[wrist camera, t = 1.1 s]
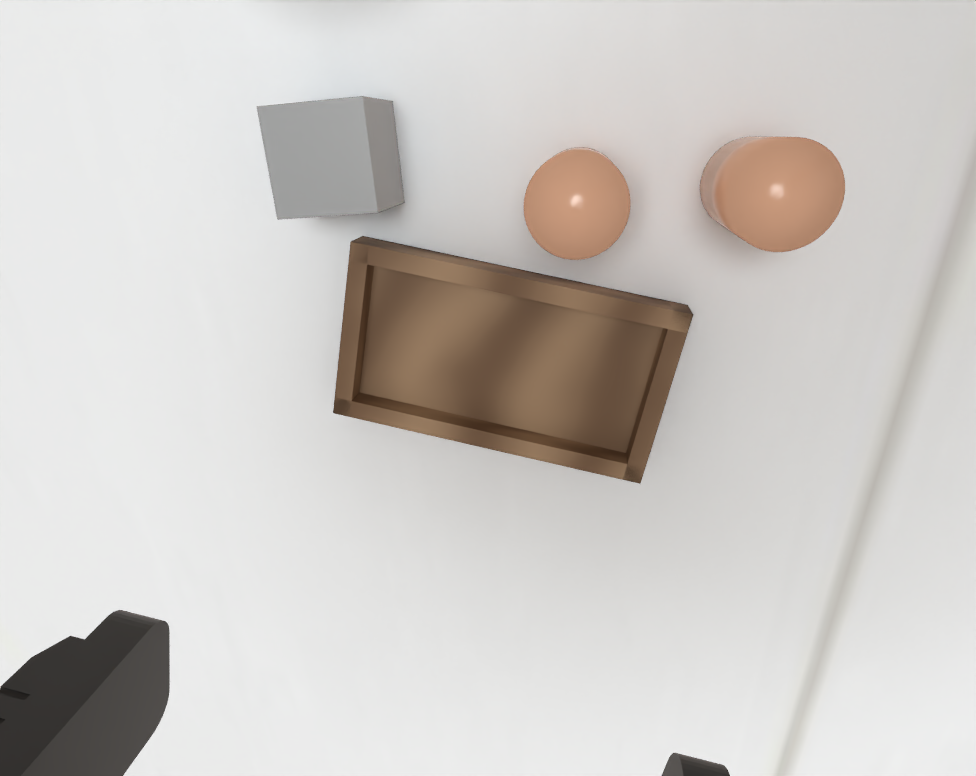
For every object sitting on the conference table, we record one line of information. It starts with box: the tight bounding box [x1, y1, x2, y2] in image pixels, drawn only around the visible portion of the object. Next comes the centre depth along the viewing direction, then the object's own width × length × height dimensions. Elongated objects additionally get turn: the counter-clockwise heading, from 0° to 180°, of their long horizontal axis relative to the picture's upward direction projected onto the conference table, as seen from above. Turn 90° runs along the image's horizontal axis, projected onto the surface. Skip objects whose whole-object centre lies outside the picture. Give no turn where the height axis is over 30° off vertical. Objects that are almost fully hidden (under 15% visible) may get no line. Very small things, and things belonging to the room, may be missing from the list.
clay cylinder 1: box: [524, 147, 630, 260], centre depth 31 cm, size 4×4×7 cm
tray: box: [333, 236, 693, 483], centre depth 37 cm, size 18×10×2 cm, turn 79°
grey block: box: [257, 96, 404, 219], centre depth 33 cm, size 5×5×5 cm
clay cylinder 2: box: [700, 137, 845, 252], centre depth 29 cm, size 4×4×7 cm
